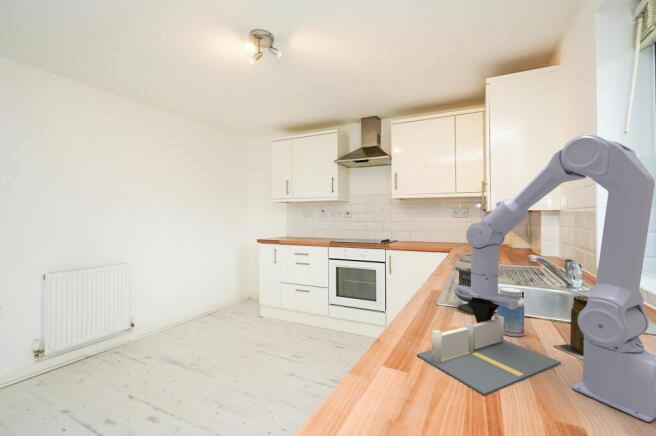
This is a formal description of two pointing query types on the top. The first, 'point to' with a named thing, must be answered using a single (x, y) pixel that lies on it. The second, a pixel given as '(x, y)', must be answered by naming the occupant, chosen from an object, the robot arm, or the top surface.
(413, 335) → the top surface
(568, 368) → the top surface
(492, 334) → the fence panel
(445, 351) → the fixed fence section
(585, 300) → the condiment
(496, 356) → the board
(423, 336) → the top surface
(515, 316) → the pill bottle
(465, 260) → the apothecary jar
